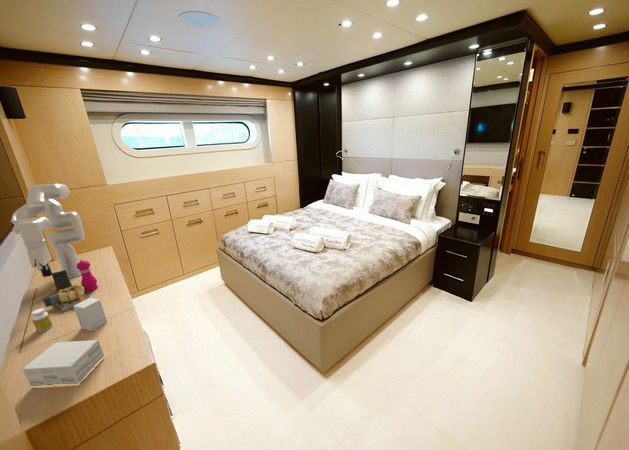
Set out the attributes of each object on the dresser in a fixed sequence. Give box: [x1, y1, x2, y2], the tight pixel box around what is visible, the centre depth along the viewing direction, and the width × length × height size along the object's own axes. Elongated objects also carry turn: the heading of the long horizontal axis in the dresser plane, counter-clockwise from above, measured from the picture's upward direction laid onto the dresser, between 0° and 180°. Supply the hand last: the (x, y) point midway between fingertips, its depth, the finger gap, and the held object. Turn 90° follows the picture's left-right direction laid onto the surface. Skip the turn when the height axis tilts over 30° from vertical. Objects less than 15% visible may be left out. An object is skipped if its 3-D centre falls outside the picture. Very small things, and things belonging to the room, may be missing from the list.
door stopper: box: [51, 270, 73, 293], centre depth 156 cm, size 9×6×12 cm, turn 41°
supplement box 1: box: [21, 339, 105, 386], centre depth 98 cm, size 17×13×9 cm
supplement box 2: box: [73, 297, 108, 332], centre depth 123 cm, size 7×7×13 cm
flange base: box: [55, 290, 91, 313], centre depth 144 cm, size 16×12×6 cm
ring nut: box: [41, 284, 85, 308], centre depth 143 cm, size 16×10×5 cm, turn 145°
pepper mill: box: [77, 258, 99, 293], centre depth 155 cm, size 7×7×20 cm
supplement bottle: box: [31, 308, 53, 333], centre depth 123 cm, size 5×5×10 cm
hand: (48, 275), depth 141 cm, fingers closed
